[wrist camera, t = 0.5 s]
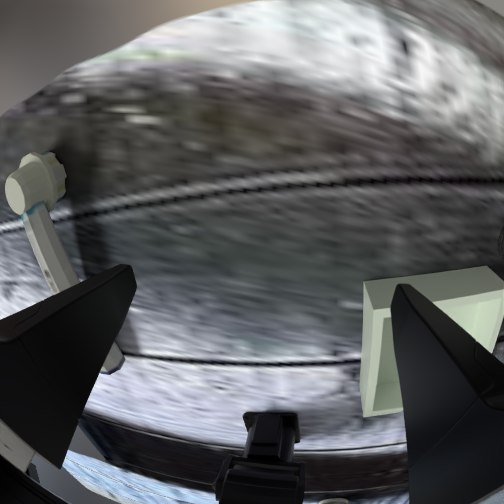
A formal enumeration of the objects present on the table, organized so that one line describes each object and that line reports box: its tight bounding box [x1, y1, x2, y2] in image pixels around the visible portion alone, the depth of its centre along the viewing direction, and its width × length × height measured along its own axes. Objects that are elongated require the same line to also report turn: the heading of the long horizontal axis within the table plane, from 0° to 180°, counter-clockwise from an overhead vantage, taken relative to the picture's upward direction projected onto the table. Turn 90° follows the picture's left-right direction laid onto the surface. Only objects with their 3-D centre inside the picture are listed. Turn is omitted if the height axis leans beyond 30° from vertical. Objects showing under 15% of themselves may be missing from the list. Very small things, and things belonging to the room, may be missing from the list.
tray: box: [359, 266, 504, 417], centre depth 23 cm, size 13×13×4 cm
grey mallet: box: [5, 151, 125, 375], centre depth 27 cm, size 5×7×25 cm
